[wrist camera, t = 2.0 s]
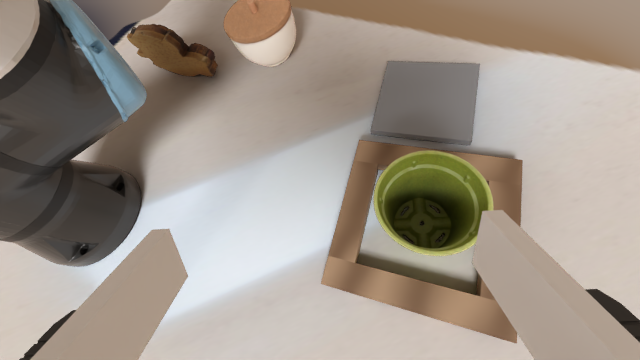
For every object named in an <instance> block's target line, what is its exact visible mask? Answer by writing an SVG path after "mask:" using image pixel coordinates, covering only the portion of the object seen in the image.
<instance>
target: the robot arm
mask: <svg viewBox="0 0 640 360" xmlns="http://www.w3.org/2000/svg"><path fill="white" fill-rule="evenodd" d="M146 95H147V94H146V90H145V88H144V86H143V84H142V83H141V81H140V80H139V78H138V77H137V76H136V74H135V73H134V72H133V70H132V69H131V68H130V67H129V65H128V64H127V63H126V62H125V60H124V59H123V58H122V57H121V55H120V54H119V53H118V52H117V50H116V49H115V48H114V47H113V46H112V44H111V43H110V42H109V41H108V40H107V39H106V37H105V36H104V35H103V34H102V33H101V31H100V30H99V29H98V28H97V27H96V26H95V24H94V23H93V22H92V21H91V20H90V19H89V18H88V17H87V15H86V14H85V13H84V12H83V11H82V10H81V9H80V8H79V7H78V6H77V5H76V4H75V3H74V2H73V1H72V0H0V240H1V241H7V242H12V243H16V244H18V245H20V246H22V247H24V248H25V249H27V250H29V251H31V252H33V253H35V254H37V255H39V256H41V257H43V258H45V259H47V260H49V261H51V262H53V263H56V264H61V265H68V266H77V267H80V266H87V265H90V264H93V263H95V262H98V261H100V260H101V259H103V258H105V257H106V256H107V255H109V254H110V253H111V252H112V251H114V250H115V249H116V248H117V247H118V246H119V245H120V244H121V242H122V241H123V240H124V239H125V237H126V236H127V235H128V233H129V232H130V230H131V228H132V226H133V224H134V222H135V220H136V218H137V215H138V212H139V208H140V201H141V194H140V188H139V185H138V183H137V181H136V180H135V178H134V177H133V176H131V175H130V174H128V173H126V172H124V171H122V170H120V169H118V168H116V167H113V166H108V165H102V164H96V163H89V162H83V161H77V160H71V159H73V158H74V157H75V156H77V155H78V154H80V153H81V152H82V151H84V150H85V149H87V148H88V147H89V146H91V145H92V144H94V143H95V142H96V141H98V140H99V139H101V138H102V137H103V136H105V135H106V134H108V133H109V132H110V131H112V130H113V129H115V128H116V127H117V126H119V125H120V124H122V123H123V122H126V121H127V120H128V117H129V116H130V115H132V114H133V113H134V112H135V111H136V110H138V109H139V108H140V107H141V106H142V105H143V104H144V102H145V101H146ZM472 264H473V266H474V267H475V269H476V270H477V272H478V273H479V275H480V276H481V278H482V280H483V281H484V283H485V284H486V286H487V287H488V289H489V290H490V292H491V293H492V295H493V296H494V298H495V300H496V301H497V303H498V304H499V306H500V307H501V309H502V310H503V312H504V313H505V315H506V316H507V318H508V320H509V321H510V323H511V324H512V326H513V327H514V329H515V330H516V332H517V333H518V335H519V337H520V338H521V340H522V341H523V343H524V344H525V346H526V347H527V349H528V350H529V352H530V353H531V355H532V357H533V358H534V360H640V320H639V319H638V318H636V317H635V316H634V315H633V314H632V313H631V312H630V311H629V310H627V309H626V308H625V307H624V306H623V305H622V304H621V303H619V302H618V301H616V300H614V299H613V298H611V297H609V296H608V295H606V294H604V293H603V292H601V291H599V290H598V289H589V290H585V289H584V288H583V287H582V286H581V285H580V284H578V283H577V282H576V281H575V280H574V279H573V278H572V277H571V276H570V275H569V274H568V273H567V272H566V271H565V270H564V269H563V268H562V267H561V266H560V265H559V264H558V263H557V262H556V261H555V260H554V259H553V258H552V257H551V256H549V255H548V254H547V253H546V252H545V251H544V250H543V249H542V248H541V247H540V246H539V245H538V244H537V243H536V242H535V241H534V240H533V239H532V238H531V237H530V236H529V235H528V234H527V233H526V232H525V231H524V230H523V229H521V228H520V227H519V226H518V225H517V224H516V223H515V222H514V221H513V220H512V219H511V218H510V217H509V216H508V215H507V214H506V213H505V212H504V211H503V210H492V211H482V216H481V221H480V226H479V231H478V235H477V240H476V245H475V250H474V255H473V260H472ZM187 277H188V275H187V272H186V270H185V267H184V265H183V262H182V260H181V257H180V255H179V252H178V250H177V247H176V245H175V242H174V240H173V238H172V235H171V233H170V230H169V229H159V230H152V231H151V232H150V233H149V234H148V235H147V236H146V237H145V238H144V239H143V240H142V241H141V242H140V243H139V244H138V245H137V246H136V248H135V249H134V250H133V251H132V252H131V253H130V254H129V255H128V256H127V257H126V258H125V259H124V260H123V261H122V262H121V264H120V265H119V266H118V267H117V268H116V269H115V270H114V271H113V272H112V273H111V274H110V275H109V276H108V277H107V278H106V279H105V281H104V282H103V283H102V284H101V285H100V286H99V287H98V288H97V289H96V290H95V291H94V292H93V293H92V294H91V295H90V297H89V298H88V299H87V300H86V301H85V302H84V303H83V304H82V305H81V306H80V307H79V308H78V309H77V310H73V311H71V312H70V313H69V314H67V315H66V316H65V317H63V318H62V319H60V320H59V321H58V322H56V323H55V324H54V325H53V326H52V327H51V328H50V329H49V330H48V331H47V332H46V333H45V334H44V335H43V336H42V337H41V338H40V339H39V340H38V343H37V344H34V345H33V346H32V347H31V348H30V349H29V350H28V351H27V352H26V353H25V354H24V355H25V356H24V358H21V359H20V360H138V359H139V357H140V355H141V354H142V352H143V350H144V349H145V347H146V345H147V344H148V342H149V340H150V339H151V337H152V335H153V334H154V332H155V330H156V329H157V327H158V325H159V324H160V322H161V320H162V319H163V317H164V315H165V314H166V312H167V310H168V309H169V307H170V305H171V304H172V302H173V300H174V299H175V297H176V295H177V294H178V292H179V290H180V289H181V287H182V285H183V284H184V282H185V280H186V279H187Z"/></svg>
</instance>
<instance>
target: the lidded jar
mask: <svg viewBox="0 0 640 360" xmlns="http://www.w3.org/2000/svg"><path fill="white" fill-rule="evenodd" d="M224 30H225V31H226V33H227V35H228V36H229V38H230V39H231V40H232V42H233V43H234V45H235V46H236V48H237V49H238V50H239V51H240V52H241V54H242V55H243V56H244V57H245V58H247V59H248V60H250V61H251V62H253V63H255V64H259V65H263V66H266V67H274V66H277V65H280V64H282V63H283V62H284V61H286V60H287V59H288V57H289V56H290V54H291V51H292V49H293V47H294V44H295V40H296V25H295V20H294V16H293V12H292V9H291V4H290V1H289V0H238V1H237V2H236V3H235V4H234V5H233V6H232V7H231V8H230V9H229V11H228V12H227V14H226V16H225V19H224Z"/></svg>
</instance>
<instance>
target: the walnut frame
mask: <svg viewBox="0 0 640 360" xmlns="http://www.w3.org/2000/svg"><path fill="white" fill-rule="evenodd" d="M427 150H430V151H431V150H432V151H440V152H445V153H450V154H453V155H455V156H457V157H459V158H461V159H463V160H465V161H467V162H469V163H470V164H471V165H472V166H474V167H475V168H476V169H477V170H478V171H479V172H480V173H481V174H482V176H483V177H484V178H485V180H486V182H487V184H488V186H489V188H490V190H491V194H492V198H493V210H503V211H504V212H505V213H506V214H507V215H508V216H509V217H510V218H511V219H512V220H513V221H514V222H515V223H516V224H517V225H518V226H519V227H520V223H521V192H522V160H518V159H510V158H502V157H493V156H485V155H477V154H469V153H461V152H453V151H445V150H437V149H428V148H420V147H412V146H404V145H396V144H388V143H380V142H372V141H363V140H359V143H358V147H357V150H356V154H355V158H354V162H353V165H352V169H351V173H350V177H349V180H348V184H347V188H346V192H345V195H344V199H343V203H342V206H341V210H340V214H339V218H338V221H337V225H336V229H335V233H334V236H333V240H332V244H331V248H330V251H329V255H328V259H327V263H326V266H325V270H324V274H323V277H322V281H321V284H324V285H327V286H330V287H333V288H337V289H340V290H343V291H346V292H350V293H353V294H356V295H359V296H363V297H366V298H369V299H373V300H376V301H379V302H382V303H386V304H389V305H392V306H395V307H399V308H402V309H405V310H409V311H412V312H415V313H418V314H422V315H425V316H428V317H431V318H435V319H438V320H441V321H445V322H448V323H451V324H454V325H458V326H461V327H464V328H467V329H471V330H474V331H477V332H481V333H484V334H487V335H490V336H494V337H497V338H500V339H503V340H507V341H510V342H513V343H517V332H516V330H515V329H514V327H513V326H512V324H511V323H510V321H509V320H508V318H507V316H506V315H505V313H504V312H503V310H502V309H501V307H500V306H499V304H498V303H497V301H496V300H495V298H494V296H493V295H492V293H491V292H490V290H489V289H488V287H487V286H486V284H485V283H484V281H483V280H482V278H481V276H480V275H479V273H478V279H477V291H476V295H473V294H469V293H465V292H461V291H458V290H454V289H450V288H446V287H443V286H439V285H435V284H432V283H428V282H424V281H420V280H417V279H413V278H409V277H406V276H402V275H398V274H394V273H391V272H387V271H383V270H380V269H376V268H372V267H368V266H365V265H361V264H357V260H358V256H359V251H360V247H361V243H362V238H363V234H364V230H365V225H366V221H367V216H368V212H369V208H370V203H371V199H372V195H373V190H374V186H375V182H376V177H377V173H378V169H379V170H385V169H386V168H387V167H388V166H389V165H390V164H391V163H392V162H394V161H395V160H396V159H398V158H400V157H402V156H405V155H407V154H410V153H413V152H417V151H427Z"/></svg>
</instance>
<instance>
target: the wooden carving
mask: <svg viewBox="0 0 640 360" xmlns="http://www.w3.org/2000/svg"><path fill="white" fill-rule="evenodd" d="M127 38H128V40H129V41H130V42H131V43H132V44H133V45H134V46H136V47H137V48H139V50H138V52H137V54H138V55H140V56H141V57H145V58H150V59H151V60H152V61H153V64H154V65H156V66H158V67H160V68H163V69H166V70H168V71H171V72H174V73H177V74H180V75H184V76H196V75H198V74H202V75H205V76H208V77H209V76H210V77H213V76H214V74H215V70H216V68H217V66H218V65H217V63H216V62H215V60H214V59H215V56H214V52H213V51H212V50H210V49H208V48H207V47H205V46H203V45H201V44H196V43H194V44H191V45H190V47H189V46H188V45H187V44H186V43H184V41H183V39H182V38H181V37H180V36H178V35H177V34H176V33H175V32H174V31H173V30H171V29H168V28H167V27H165V26H162V25H155V24H151V25H139V26H138V27H137V28H135V27H133V28H132V30H131V33H129V34H128V35H127Z"/></svg>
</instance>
